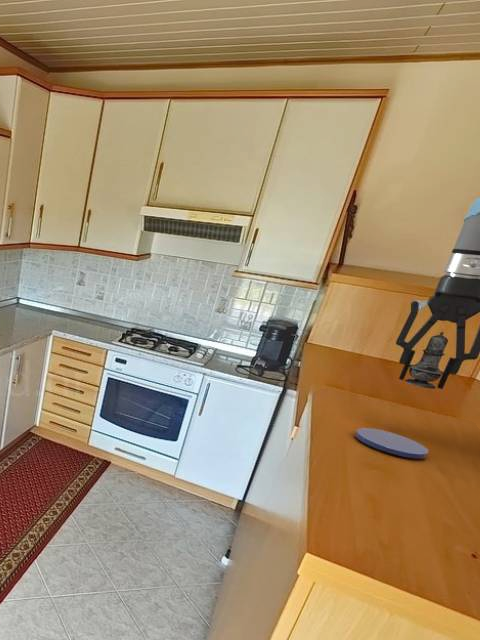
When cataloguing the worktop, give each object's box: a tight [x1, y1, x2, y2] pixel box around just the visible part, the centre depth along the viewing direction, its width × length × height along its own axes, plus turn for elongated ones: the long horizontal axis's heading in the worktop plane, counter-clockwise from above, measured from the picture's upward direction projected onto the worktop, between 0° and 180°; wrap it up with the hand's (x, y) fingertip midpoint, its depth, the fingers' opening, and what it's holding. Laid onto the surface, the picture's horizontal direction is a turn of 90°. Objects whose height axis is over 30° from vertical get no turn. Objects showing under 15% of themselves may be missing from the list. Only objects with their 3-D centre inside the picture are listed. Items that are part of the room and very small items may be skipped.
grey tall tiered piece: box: [404, 331, 449, 390], centre depth 106 cm, size 6×6×12 cm
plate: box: [355, 427, 430, 460], centre depth 103 cm, size 12×12×2 cm
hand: (420, 382), depth 107 cm, fingers closed on grey tall tiered piece, 6 cm apart
